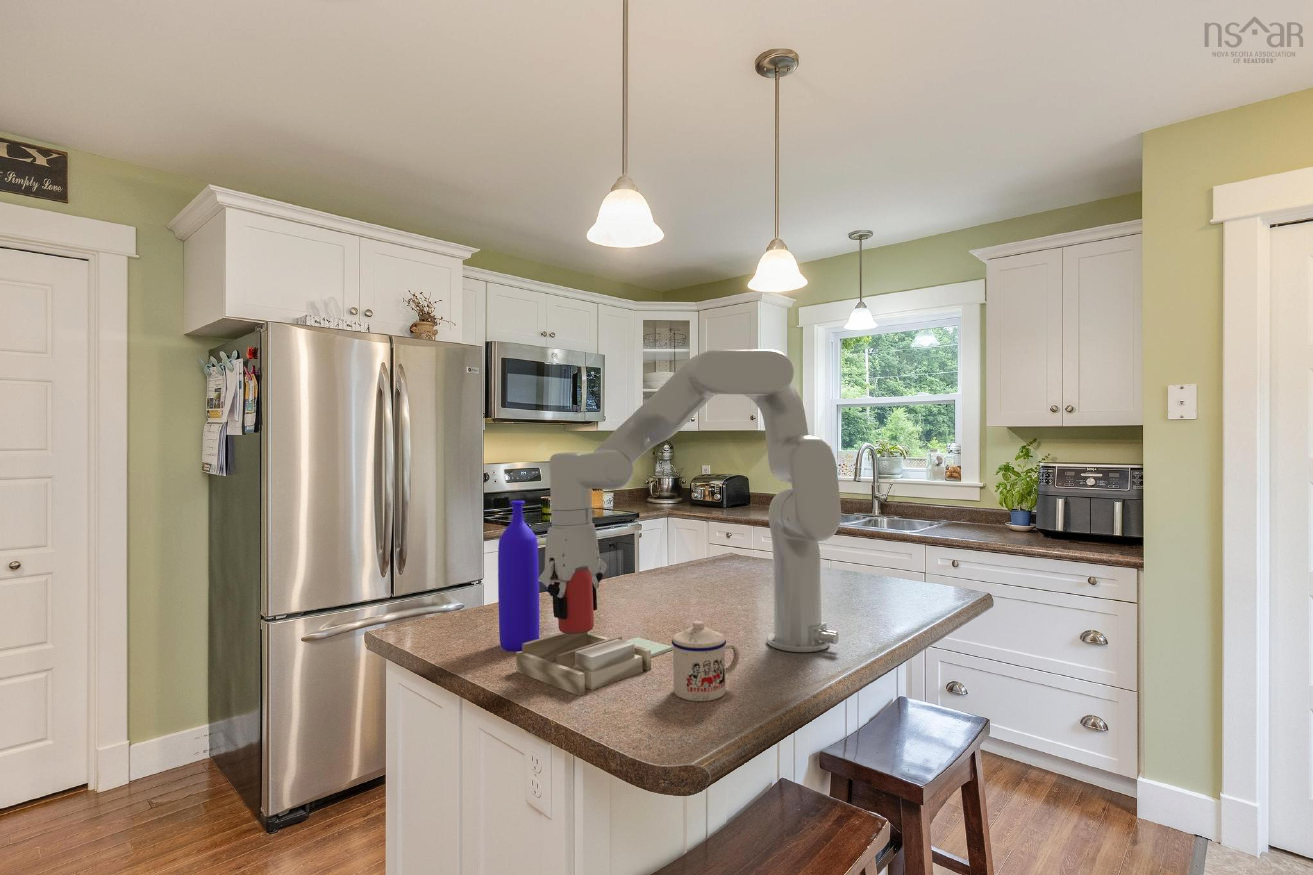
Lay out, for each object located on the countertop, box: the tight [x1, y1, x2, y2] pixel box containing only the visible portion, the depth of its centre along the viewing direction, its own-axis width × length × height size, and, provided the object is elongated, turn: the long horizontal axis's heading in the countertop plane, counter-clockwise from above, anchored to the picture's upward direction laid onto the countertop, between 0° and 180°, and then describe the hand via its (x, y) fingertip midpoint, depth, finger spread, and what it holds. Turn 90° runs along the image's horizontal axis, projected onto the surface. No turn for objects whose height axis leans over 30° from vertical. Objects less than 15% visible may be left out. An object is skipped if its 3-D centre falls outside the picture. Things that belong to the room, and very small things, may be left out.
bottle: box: [497, 500, 540, 652], centre depth 138 cm, size 8×8×30 cm
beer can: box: [557, 566, 595, 634], centre depth 124 cm, size 7×7×12 cm
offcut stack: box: [573, 639, 643, 691], centre depth 118 cm, size 5×12×6 cm, turn 135°
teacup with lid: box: [671, 620, 740, 702], centre depth 111 cm, size 12×9×12 cm
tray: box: [515, 631, 652, 697], centre depth 122 cm, size 18×17×5 cm
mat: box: [625, 636, 673, 658], centre depth 133 cm, size 10×10×1 cm
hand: (575, 612), depth 124 cm, fingers closed on beer can, 6 cm apart
